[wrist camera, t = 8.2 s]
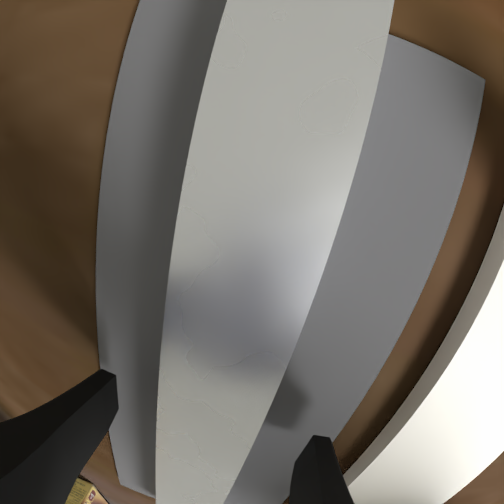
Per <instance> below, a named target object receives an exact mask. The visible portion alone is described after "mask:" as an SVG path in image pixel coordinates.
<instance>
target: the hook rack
mask: <svg viewBox="0 0 504 504" xmlns="http://www.w3.org/2000/svg"><path fill="white" fill-rule="evenodd" d="M503 451H504V205H503V208H502V211H501V214H500V217H499V220H498V223H497V226H496V229H495V232H494V234H493V237H492V240H491V242H490V245H489V247H488V250H487V253H486V255H485V257H484V260H483V262H482V265H481V267H480V269H479V272H478V274H477V276H476V278H475V281H474V283H473V285H472V287H471V289H470V291H469V293H468V295H467V297H466V300H465V302H464V304H463V306H462V308H461V309H460V311H459V313H458V315H457V317H456V319H455V321H454V323H453V325H452V327H451V328H450V330H449V332H448V334H447V335H446V337H445V339H444V341H443V342H442V344H441V346H440V348H439V349H438V351H437V353H436V354H435V356H434V358H433V359H432V361H431V362H430V364H429V366H428V367H427V369H426V370H425V372H424V373H423V375H422V376H421V378H420V379H419V381H418V382H417V384H416V385H415V387H414V388H413V390H412V391H411V393H410V394H409V396H408V397H407V398H406V400H405V401H404V402H403V404H402V405H401V407H400V408H399V409H398V411H397V412H396V413H395V415H394V416H393V417H392V419H391V420H390V421H389V422H388V424H387V425H386V426H385V428H384V429H383V430H382V431H381V433H380V434H379V435H378V436H377V437H376V439H375V440H374V441H373V442H372V443H371V445H370V446H369V447H368V448H367V449H366V450H365V452H364V453H363V454H362V455H361V456H360V457H359V458H358V460H357V461H356V462H355V463H354V464H353V465H352V466H351V467H350V468H349V469H348V470H347V471H346V473H345V474H344V475H343V477H344V480H345V482H346V485H347V487H348V490H349V492H350V495H351V497H352V499H353V502H354V504H443V503H444V502H446V501H447V500H448V499H450V498H451V497H452V496H453V495H455V494H456V493H457V492H459V491H460V490H461V489H462V488H463V487H465V486H466V485H467V484H468V483H469V482H471V481H472V480H473V479H474V478H475V477H476V476H478V475H479V474H480V473H481V472H482V471H483V470H484V469H485V468H486V467H488V466H489V465H490V464H491V463H492V462H493V461H494V460H495V459H496V458H497V457H498V456H499V455H500V454H501V453H502V452H503Z"/></svg>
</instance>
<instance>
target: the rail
mask: <svg viewBox="0 0 504 504" xmlns="http://www.w3.org/2000/svg"><path fill="white" fill-rule="evenodd" d="M393 5H394V0H227V2H226V5H225V9H224V12H223V15H222V19H221V22H220V26H219V29H218V33H217V36H216V40H215V43H214V47H213V51H212V54H211V58H210V62H209V66H208V70H207V73H206V77H205V81H204V86H203V90H202V94H201V98H200V102H199V107H198V111H197V115H196V120H195V125H194V129H193V134H192V139H191V143H190V148H189V153H188V158H187V164H186V169H185V174H184V179H183V185H182V191H181V196H180V202H179V208H178V214H177V220H176V227H175V233H174V240H173V247H172V254H171V261H170V269H169V277H168V285H167V293H166V302H165V311H164V321H163V331H162V342H161V354H160V367H159V382H158V400H157V423H156V504H223V503H224V502H225V500H226V498H227V496H228V494H229V492H230V490H231V488H232V486H233V484H234V482H235V480H236V478H237V476H238V474H239V472H240V470H241V468H242V466H243V464H244V462H245V460H246V458H247V456H248V454H249V452H250V450H251V447H252V445H253V443H254V441H255V439H256V437H257V435H258V433H259V430H260V428H261V426H262V424H263V422H264V419H265V417H266V415H267V413H268V410H269V408H270V406H271V404H272V401H273V399H274V397H275V394H276V392H277V390H278V387H279V385H280V383H281V380H282V378H283V376H284V373H285V371H286V368H287V366H288V364H289V361H290V359H291V356H292V354H293V351H294V349H295V346H296V344H297V341H298V339H299V336H300V333H301V331H302V328H303V326H304V323H305V320H306V318H307V315H308V313H309V310H310V307H311V304H312V302H313V299H314V296H315V294H316V291H317V288H318V285H319V282H320V280H321V277H322V274H323V271H324V268H325V265H326V262H327V259H328V257H329V254H330V251H331V248H332V245H333V242H334V239H335V236H336V233H337V229H338V226H339V223H340V220H341V217H342V214H343V211H344V207H345V204H346V201H347V198H348V194H349V191H350V188H351V184H352V181H353V177H354V174H355V170H356V167H357V163H358V160H359V156H360V153H361V149H362V145H363V142H364V138H365V134H366V130H367V126H368V122H369V118H370V114H371V110H372V106H373V102H374V98H375V94H376V90H377V85H378V81H379V76H380V72H381V67H382V63H383V58H384V53H385V48H386V43H387V38H388V33H389V28H390V22H391V16H392V11H393Z"/></svg>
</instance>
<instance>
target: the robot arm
mask: <svg viewBox="0 0 504 504" xmlns="http://www.w3.org/2000/svg"><path fill="white" fill-rule="evenodd" d="M118 410H119V404H118V392H117V378H116V375H115V374H113V373H111V372H108V371H106V370H104V369H100V370H98V371H97V372H96V373H94V374H93V375H91V376H90V377H88V378H87V379H85V380H84V381H82V382H81V383H79V384H77V385H76V386H74V387H73V388H71V389H70V390H68V391H66V392H65V393H63V394H61V395H60V396H58V397H56V398H55V399H53V400H51V401H49V402H47V403H45V404H44V405H42V406H40V407H38V408H36V409H34V410H32V411H30V412H27V413H25V414H23V415H20V416H18V417H15V418H13V419H10V420H7V421H4V422H1V423H0V504H65V503H66V500H67V498H68V496H69V494H70V492H71V489H72V487H73V485H74V483H75V481H76V479H77V477H78V476H79V474H80V472H81V470H82V469H83V467H84V466H85V464H86V463H87V461H88V460H89V458H90V457H91V455H92V454H93V452H94V451H95V449H96V448H97V447H98V445H99V444H100V442H101V441H102V439H103V438H104V436H105V435H106V433H107V431H108V430H109V428H110V426H111V424H112V422H113V420H114V418H115V416H116V414H117V412H118ZM289 504H354V502H353V499H352V497H351V495H350V492H349V490H348V487H347V485H346V482H345V480H344V477H343V474H342V472H341V469H340V466H339V463H338V460H337V457H336V454H335V451H334V447H333V444H332V441H331V439H330V437H325V436H319V435H313V436H312V438H311V439H310V441H309V442H308V444H307V445H306V446H305V448H304V449H303V451H302V452H301V454H300V455H299V457H298V458H297V459H296V461H295V463H294V468H293V473H292V478H291V484H290V496H289Z"/></svg>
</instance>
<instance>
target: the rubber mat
mask: <svg viewBox="0 0 504 504" xmlns="http://www.w3.org/2000/svg"><path fill="white" fill-rule="evenodd" d="M226 2H227V0H140V2H139V5H138V8H137V11H136V14H135V17H134V20H133V24H132V27H131V30H130V34H129V37H128V41H127V44H126V48H125V52H124V55H123V59H122V63H121V67H120V71H119V76H118V80H117V85H116V89H115V94H114V99H113V104H112V109H111V114H110V120H109V126H108V132H107V138H106V144H105V151H104V159H103V167H102V175H101V185H100V195H99V207H98V222H97V241H96V315H97V335H98V349H99V361H100V369H104V370H106V371H108V372H111V373H113V374H115V375H116V378H117V392H118V404H119V410H118V412H117V414H116V416H115V418H114V420H113V422H112V424H111V426H110V428H109V435H110V440H111V445H112V450H113V455H114V460H115V464H116V469H117V473H118V477H119V481H120V484H121V485H123V486H125V487H128V488H130V489H132V490H135V491H137V492H140V493H142V494H145V495H147V496H150V497H153V498H155V499H156V423H157V400H158V382H159V367H160V354H161V342H162V331H163V321H164V311H165V302H166V293H167V285H168V277H169V269H170V261H171V254H172V247H173V240H174V233H175V227H176V220H177V214H178V208H179V202H180V196H181V191H182V185H183V179H184V174H185V169H186V164H187V158H188V153H189V148H190V143H191V139H192V134H193V129H194V125H195V120H196V115H197V111H198V107H199V102H200V98H201V94H202V90H203V86H204V81H205V77H206V73H207V70H208V66H209V62H210V58H211V54H212V51H213V47H214V43H215V40H216V36H217V33H218V29H219V26H220V22H221V19H222V15H223V12H224V9H225V5H226ZM484 86H485V79H483V78H482V77H480V76H478V75H476V74H475V73H473V72H471V71H469V70H467V69H465V68H464V67H462V66H460V65H458V64H456V63H454V62H452V61H450V60H448V59H446V58H444V57H442V56H440V55H438V54H436V53H433V52H431V51H429V50H427V49H425V48H422V47H420V46H418V45H415V44H413V43H410V42H408V41H406V40H403V39H401V38H398V37H395V36H393V35H390V34H388V38H387V43H386V48H385V53H384V58H383V63H382V67H381V72H380V76H379V81H378V85H377V90H376V94H375V98H374V102H373V106H372V110H371V114H370V118H369V122H368V126H367V130H366V134H365V138H364V142H363V145H362V149H361V153H360V156H359V160H358V163H357V167H356V170H355V174H354V177H353V181H352V184H351V188H350V191H349V194H348V198H347V201H346V204H345V207H344V211H343V214H342V217H341V220H340V223H339V226H338V229H337V233H336V236H335V239H334V242H333V245H332V248H331V251H330V254H329V257H328V259H327V262H326V265H325V268H324V271H323V274H322V277H321V280H320V282H319V285H318V288H317V291H316V294H315V296H314V299H313V302H312V304H311V307H310V310H309V313H308V315H307V318H306V320H305V323H304V326H303V328H302V331H301V333H300V336H299V339H298V341H297V344H296V346H295V349H294V351H293V354H292V356H291V359H290V361H289V364H288V366H287V368H286V371H285V373H284V376H283V378H282V380H281V383H280V385H279V387H278V390H277V392H276V394H275V397H274V399H273V401H272V404H271V406H270V408H269V410H268V413H267V415H266V417H265V419H264V422H263V424H262V426H261V428H260V430H259V433H258V435H257V437H256V439H255V441H254V443H253V445H252V447H251V450H250V452H249V454H248V456H247V458H246V460H245V462H244V464H243V466H242V468H241V470H240V472H239V474H238V476H237V478H236V480H235V482H234V484H233V486H232V488H231V490H230V492H229V494H228V496H227V498H226V500H225V502H224V503H223V504H282V503H283V502H284V501H285V500H286V499H287V497H288V496H289V495H290V484H291V478H292V473H293V468H294V463H295V461H296V459H297V458H298V457H299V455H300V454H301V452H302V451H303V449H304V448H305V446H306V445H307V444H308V442H309V441H310V439H311V438H312V436H313V435H319V436H325V437H330V439H331V441H332V442H333V441H334V440H335V438H336V437H337V436H338V434H339V433H340V431H341V430H342V429H343V427H344V426H345V424H346V423H347V421H348V420H349V419H350V417H351V416H352V414H353V413H354V411H355V410H356V408H357V407H358V405H359V404H360V402H361V401H362V399H363V398H364V396H365V394H366V393H367V391H368V390H369V388H370V387H371V385H372V383H373V382H374V380H375V378H376V377H377V375H378V373H379V372H380V370H381V368H382V367H383V365H384V363H385V362H386V360H387V358H388V356H389V354H390V353H391V351H392V349H393V347H394V346H395V344H396V342H397V340H398V338H399V336H400V334H401V332H402V331H403V329H404V327H405V325H406V323H407V321H408V319H409V317H410V315H411V313H412V311H413V309H414V307H415V305H416V303H417V300H418V298H419V296H420V294H421V292H422V290H423V288H424V285H425V283H426V281H427V279H428V276H429V274H430V272H431V269H432V267H433V265H434V262H435V260H436V257H437V255H438V252H439V250H440V247H441V245H442V242H443V240H444V237H445V234H446V232H447V229H448V226H449V223H450V220H451V218H452V215H453V212H454V209H455V206H456V203H457V200H458V197H459V193H460V190H461V187H462V184H463V180H464V177H465V173H466V170H467V166H468V162H469V159H470V155H471V151H472V147H473V143H474V138H475V134H476V129H477V125H478V120H479V115H480V110H481V104H482V99H483V92H484Z"/></svg>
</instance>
